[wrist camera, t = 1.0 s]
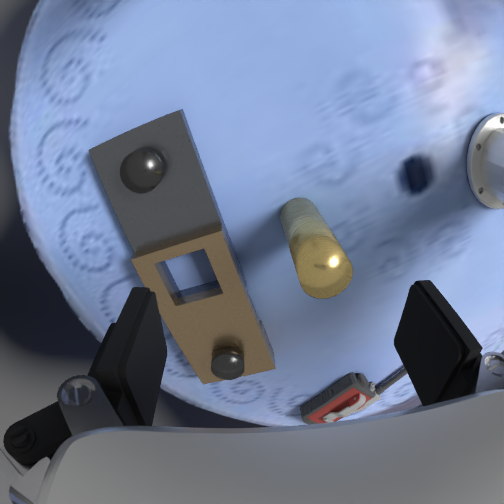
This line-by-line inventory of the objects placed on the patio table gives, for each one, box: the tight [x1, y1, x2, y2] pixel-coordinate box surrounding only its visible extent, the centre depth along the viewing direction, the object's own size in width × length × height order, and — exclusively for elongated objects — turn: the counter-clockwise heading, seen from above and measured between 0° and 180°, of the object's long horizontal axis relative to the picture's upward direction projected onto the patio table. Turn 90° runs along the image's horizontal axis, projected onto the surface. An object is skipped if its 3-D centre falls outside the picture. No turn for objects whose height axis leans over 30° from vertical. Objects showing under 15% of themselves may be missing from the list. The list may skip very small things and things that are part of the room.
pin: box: [280, 198, 353, 299], centre depth 28 cm, size 4×4×12 cm
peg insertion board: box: [89, 109, 275, 384], centre depth 34 cm, size 10×32×5 cm, turn 17°
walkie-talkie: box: [301, 368, 407, 425], centre depth 46 cm, size 9×4×20 cm
